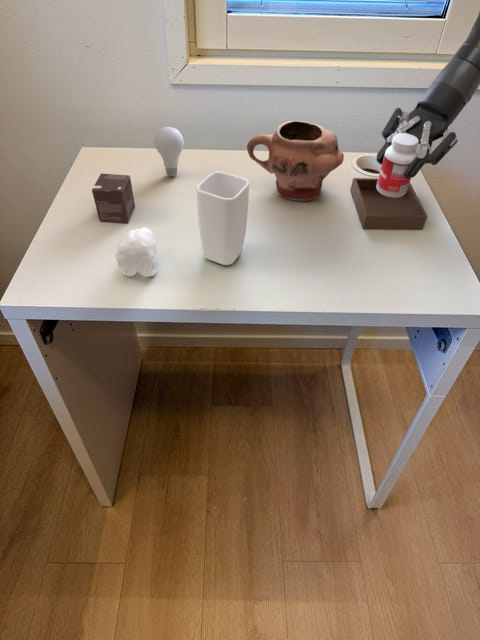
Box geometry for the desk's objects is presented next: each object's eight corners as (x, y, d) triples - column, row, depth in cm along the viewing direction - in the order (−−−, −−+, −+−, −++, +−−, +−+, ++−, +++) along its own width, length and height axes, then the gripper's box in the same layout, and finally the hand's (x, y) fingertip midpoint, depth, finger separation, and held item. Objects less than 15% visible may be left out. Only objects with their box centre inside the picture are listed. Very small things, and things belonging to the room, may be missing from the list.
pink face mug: (243, 203, 99) (246, 140, 89) (246, 173, 107) (249, 112, 97) (338, 209, 98) (351, 146, 88) (333, 178, 107) (345, 118, 96)
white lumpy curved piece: (110, 243, 74) (124, 206, 83) (118, 285, 80) (130, 247, 89) (150, 244, 75) (159, 207, 83) (155, 286, 80) (163, 248, 89)
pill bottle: (376, 180, 98) (389, 129, 90) (406, 184, 97) (422, 133, 89) (375, 196, 94) (389, 144, 86) (406, 201, 93) (423, 148, 85)
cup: (215, 239, 90) (214, 168, 79) (249, 251, 88) (253, 180, 77) (196, 260, 86) (192, 189, 75) (230, 273, 84) (232, 201, 73)
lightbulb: (180, 185, 103) (177, 136, 95) (154, 180, 104) (148, 132, 96) (189, 171, 107) (186, 124, 99) (163, 167, 108) (159, 120, 100)
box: (136, 207, 97) (131, 174, 91) (128, 224, 93) (122, 191, 87) (107, 204, 97) (100, 172, 92) (98, 221, 93) (90, 189, 88)
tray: (422, 229, 94) (427, 217, 92) (362, 229, 94) (366, 216, 92) (404, 191, 104) (408, 178, 102) (350, 190, 103) (353, 177, 101)
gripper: (413, 68, 88) (358, 146, 92) (481, 94, 81) (417, 177, 84) (422, 91, 94) (370, 163, 98) (486, 117, 87) (426, 193, 90)
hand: (392, 169), depth 91 cm, fingers closed on pill bottle, 6 cm apart
